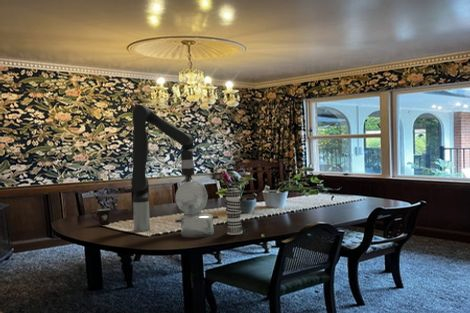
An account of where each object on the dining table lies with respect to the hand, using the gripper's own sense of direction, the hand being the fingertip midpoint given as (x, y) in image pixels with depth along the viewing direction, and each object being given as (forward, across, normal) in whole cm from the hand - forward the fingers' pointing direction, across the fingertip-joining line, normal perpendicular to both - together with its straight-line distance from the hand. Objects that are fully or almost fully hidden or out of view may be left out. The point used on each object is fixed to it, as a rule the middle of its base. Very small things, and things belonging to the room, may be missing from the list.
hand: (189, 196), depth 260 cm
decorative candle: (+20, +26, +18) cm, 38 cm away
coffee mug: (+19, -48, -49) cm, 71 cm away
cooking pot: (+20, +17, -1) cm, 26 cm away
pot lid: (+1, +7, 0) cm, 7 cm away
